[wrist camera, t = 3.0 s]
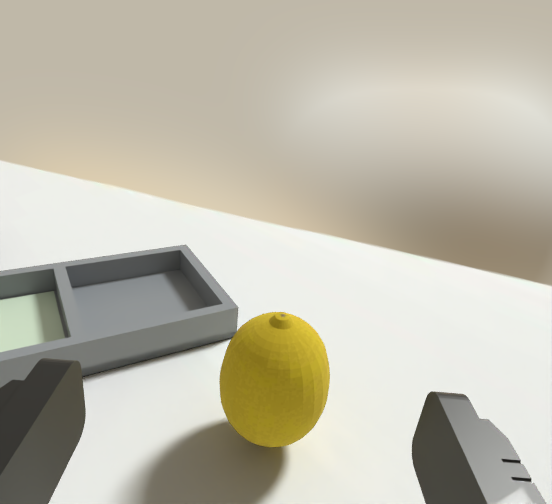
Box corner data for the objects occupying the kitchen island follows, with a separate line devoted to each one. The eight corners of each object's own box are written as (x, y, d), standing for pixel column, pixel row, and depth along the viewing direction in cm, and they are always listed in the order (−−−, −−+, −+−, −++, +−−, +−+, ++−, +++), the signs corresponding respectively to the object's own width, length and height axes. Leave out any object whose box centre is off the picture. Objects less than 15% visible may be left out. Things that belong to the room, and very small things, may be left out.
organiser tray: (185, 269, 40) (186, 244, 39) (236, 336, 32) (238, 307, 31) (-103, 318, 30) (-114, 287, 29) (-135, 432, 22) (-151, 395, 21)
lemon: (296, 500, 21) (320, 369, 18) (197, 454, 23) (200, 326, 19) (330, 420, 26) (354, 304, 22) (245, 387, 28) (255, 274, 24)
